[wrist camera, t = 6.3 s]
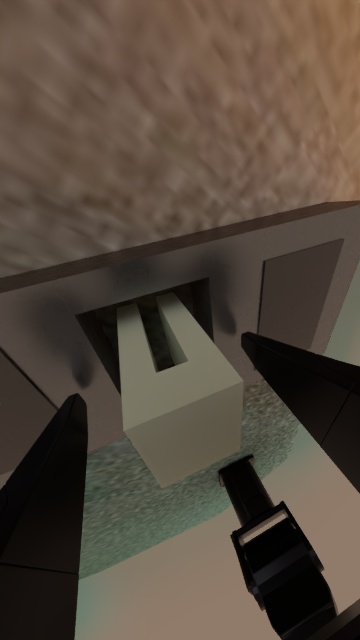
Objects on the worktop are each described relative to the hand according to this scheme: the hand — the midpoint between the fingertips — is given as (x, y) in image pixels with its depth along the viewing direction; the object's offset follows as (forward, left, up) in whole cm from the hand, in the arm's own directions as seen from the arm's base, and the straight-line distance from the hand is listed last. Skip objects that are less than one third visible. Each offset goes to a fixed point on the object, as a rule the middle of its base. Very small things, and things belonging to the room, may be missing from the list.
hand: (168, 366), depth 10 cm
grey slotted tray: (0, 0, -4) cm, 4 cm away
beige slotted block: (0, 0, -4) cm, 4 cm away
